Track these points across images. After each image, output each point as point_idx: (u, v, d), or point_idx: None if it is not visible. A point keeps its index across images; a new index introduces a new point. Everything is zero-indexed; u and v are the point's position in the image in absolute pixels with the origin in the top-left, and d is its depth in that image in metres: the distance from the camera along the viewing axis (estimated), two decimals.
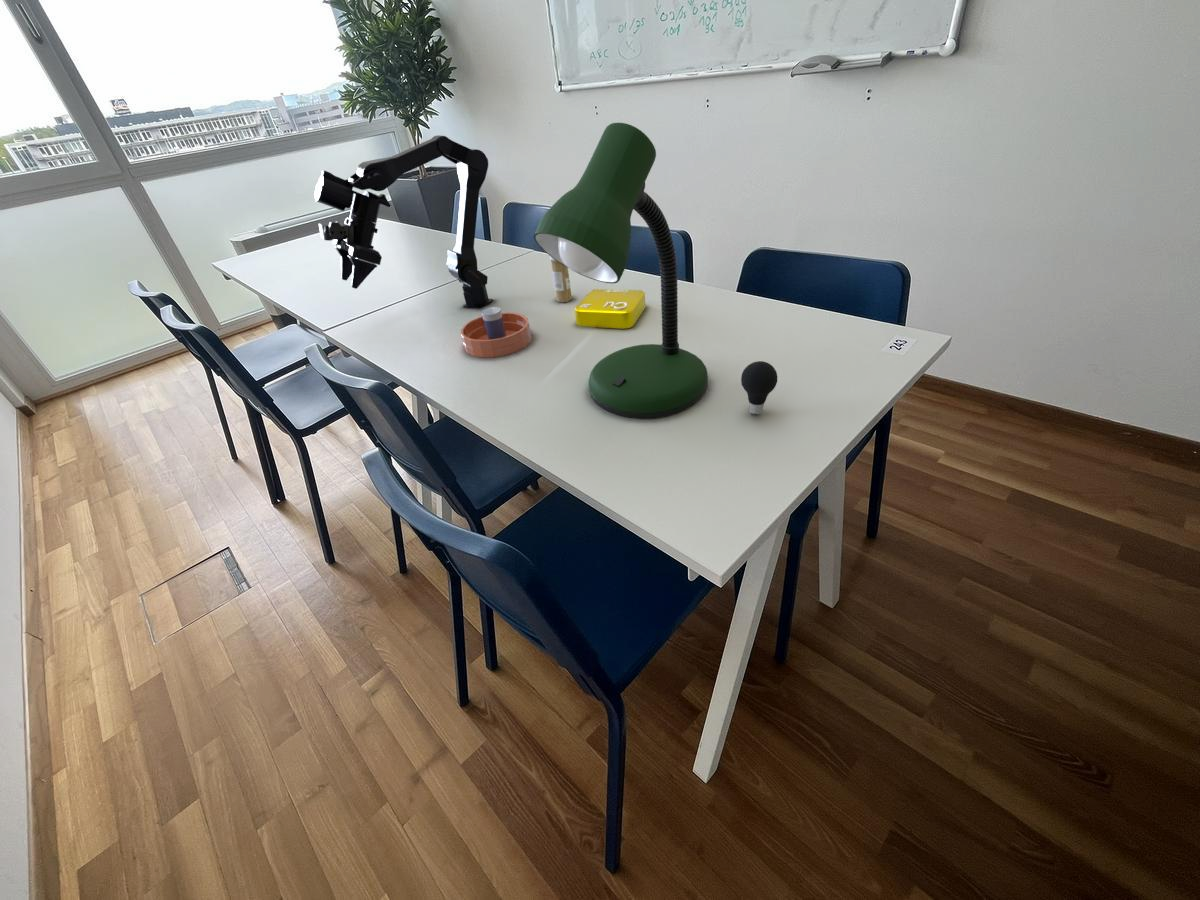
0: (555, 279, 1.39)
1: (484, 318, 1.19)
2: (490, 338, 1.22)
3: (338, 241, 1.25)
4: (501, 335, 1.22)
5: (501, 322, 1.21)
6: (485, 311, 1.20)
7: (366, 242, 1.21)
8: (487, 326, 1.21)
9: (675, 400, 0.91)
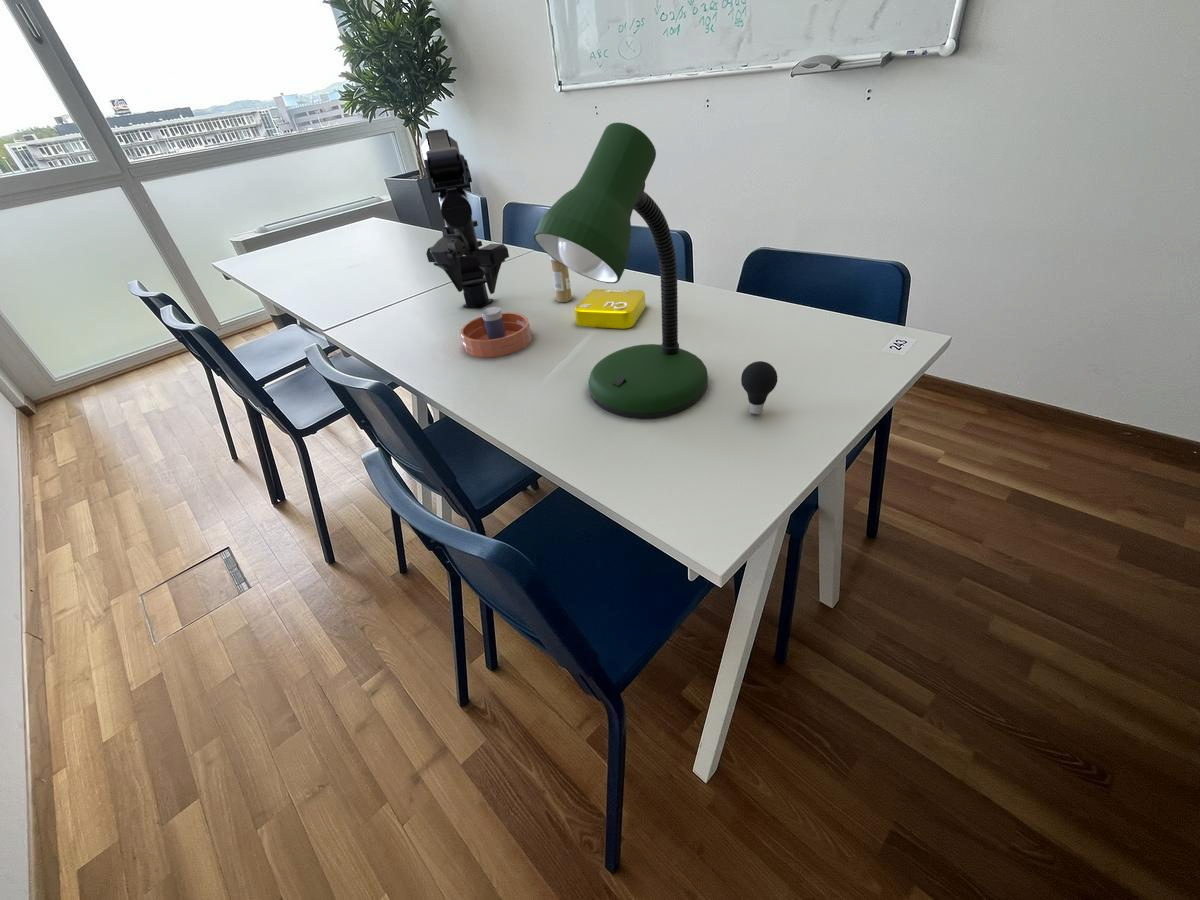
0: (555, 279, 1.39)
1: (484, 318, 1.19)
2: (490, 338, 1.22)
3: None
4: (501, 335, 1.22)
5: (501, 322, 1.21)
6: (485, 311, 1.20)
7: (476, 241, 1.10)
8: (487, 326, 1.21)
9: (675, 400, 0.91)
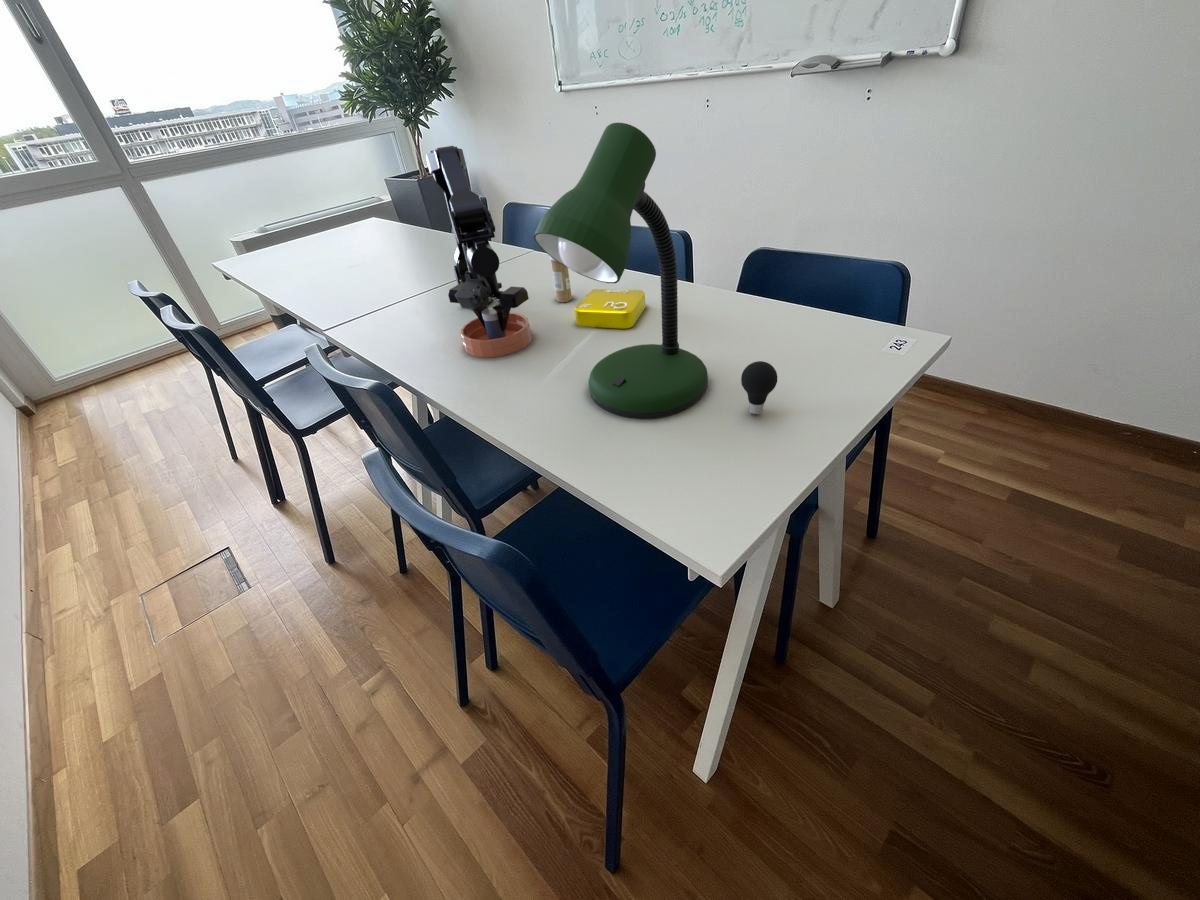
0: (555, 279, 1.39)
1: (484, 318, 1.19)
2: (490, 338, 1.22)
3: None
4: (501, 335, 1.22)
5: None
6: (485, 311, 1.20)
7: (497, 284, 1.16)
8: (487, 326, 1.21)
9: (675, 400, 0.91)
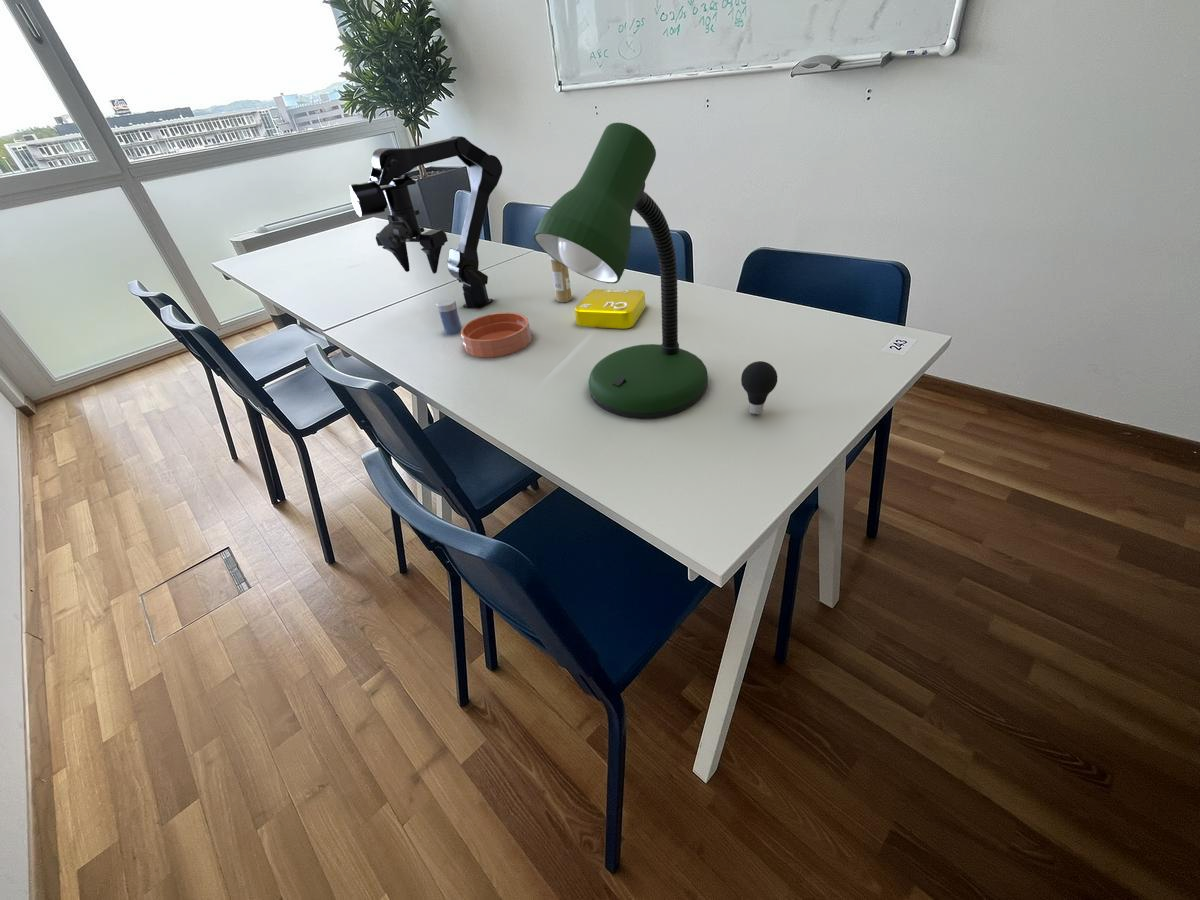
0: (555, 279, 1.39)
1: (439, 309, 1.28)
2: (445, 328, 1.31)
3: None
4: (455, 326, 1.30)
5: (455, 313, 1.29)
6: (440, 303, 1.28)
7: (419, 227, 1.27)
8: (442, 317, 1.29)
9: (675, 400, 0.91)
